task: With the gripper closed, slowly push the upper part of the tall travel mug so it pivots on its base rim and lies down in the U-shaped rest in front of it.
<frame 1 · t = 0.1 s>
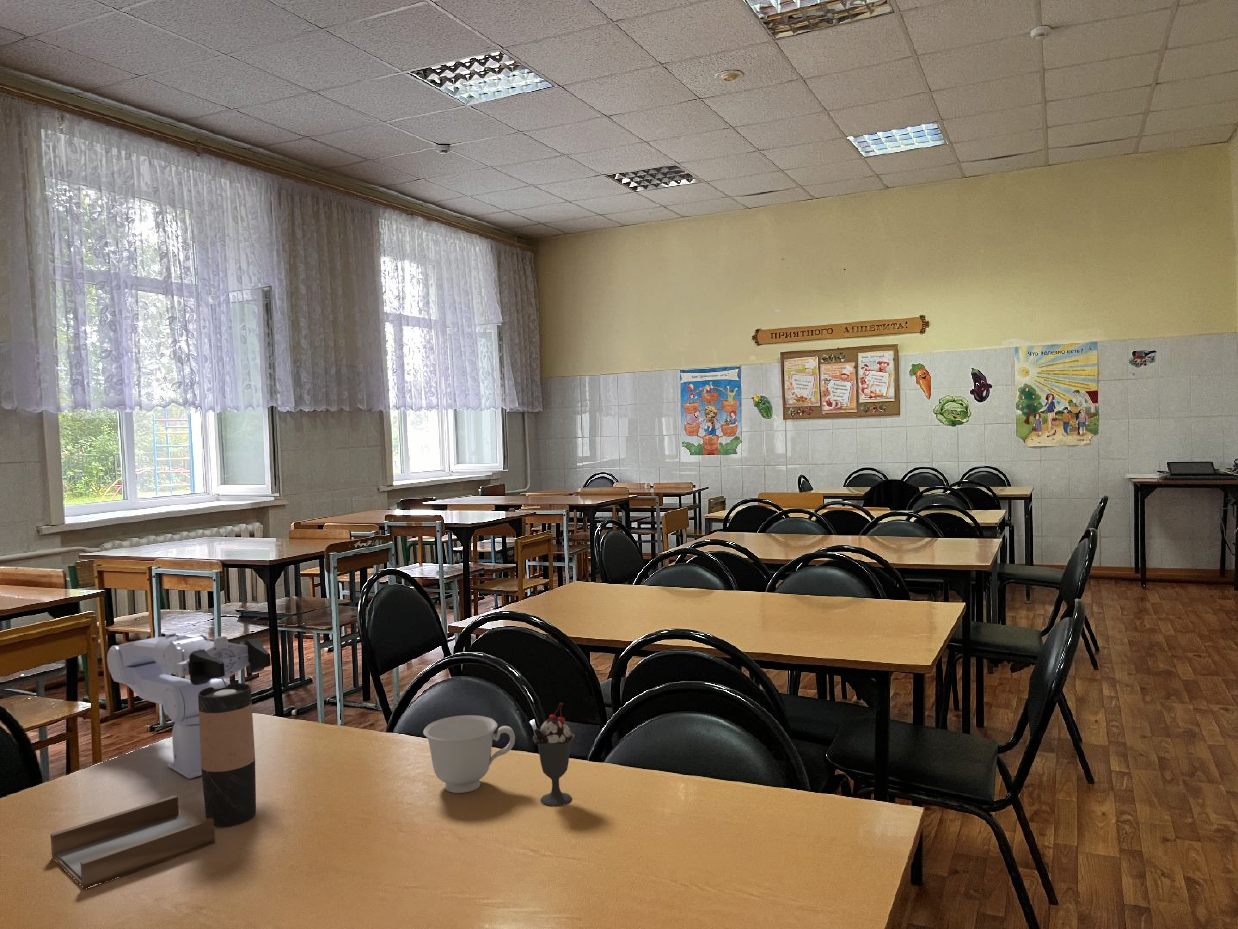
hand: (245, 664, 147), 22 cm above the table, tool horizontal, fingers open, 7 cm apart
teacup: (471, 787, 148), on the table
u rest: (134, 850, 129), on the table
travel mug: (231, 818, 139), on the table
sundae: (556, 801, 142), on the table
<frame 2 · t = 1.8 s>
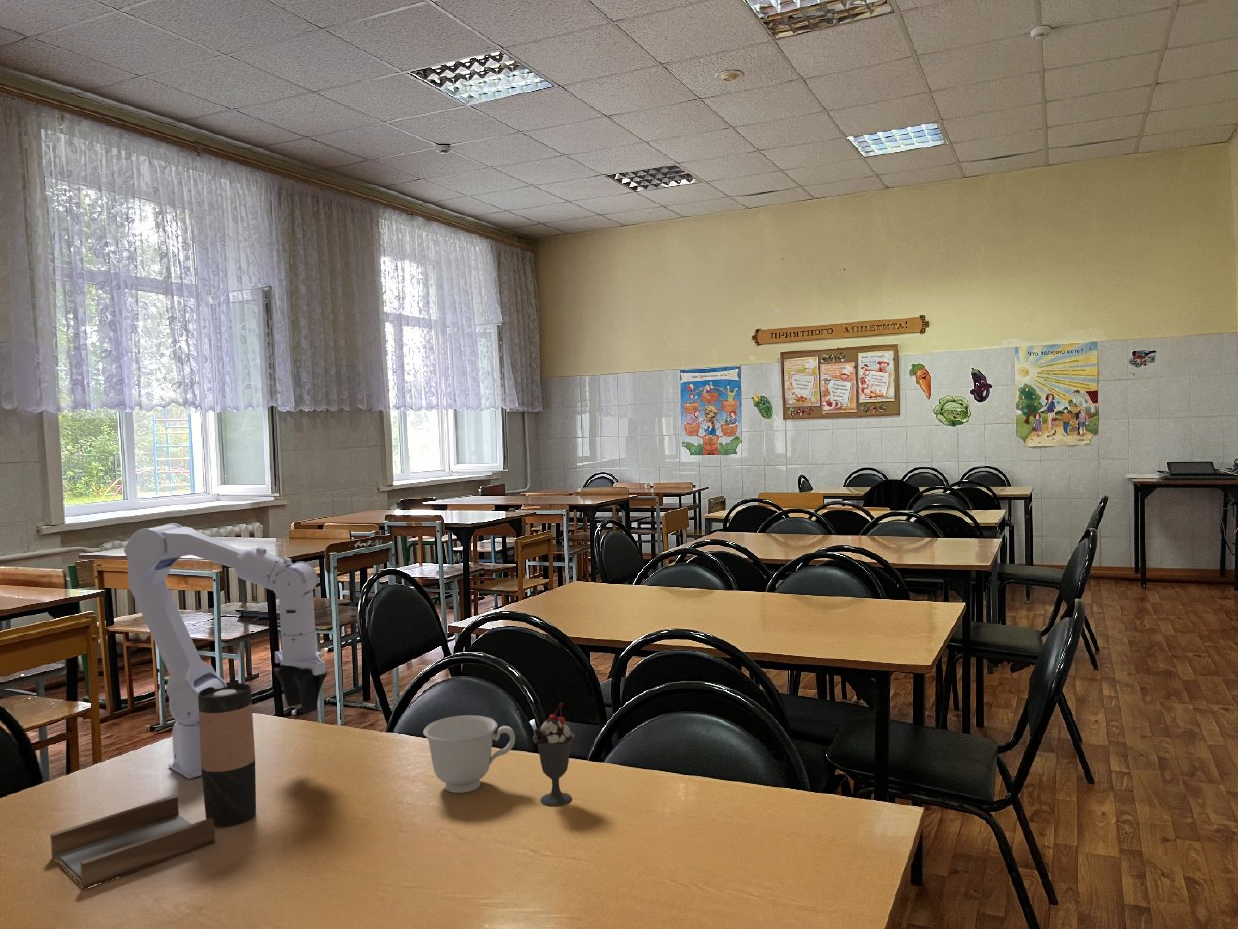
hand: (301, 708, 160), 10 cm above the table, tool pointing down, fingers open, 5 cm apart
nothing on the table moved.
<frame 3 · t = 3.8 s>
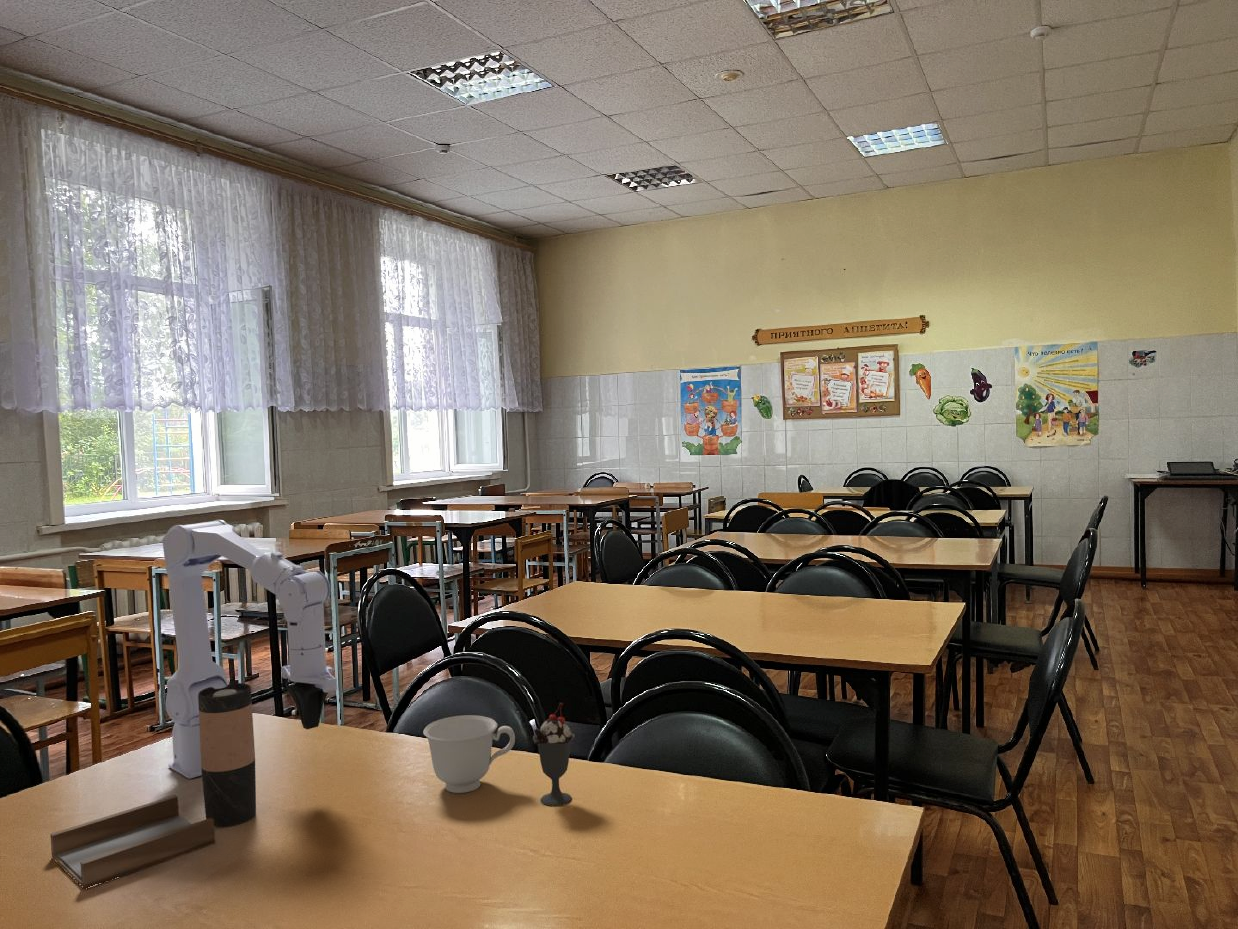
hand: (311, 727, 149), 10 cm above the table, tool pointing down, fingers closed
nothing on the table moved.
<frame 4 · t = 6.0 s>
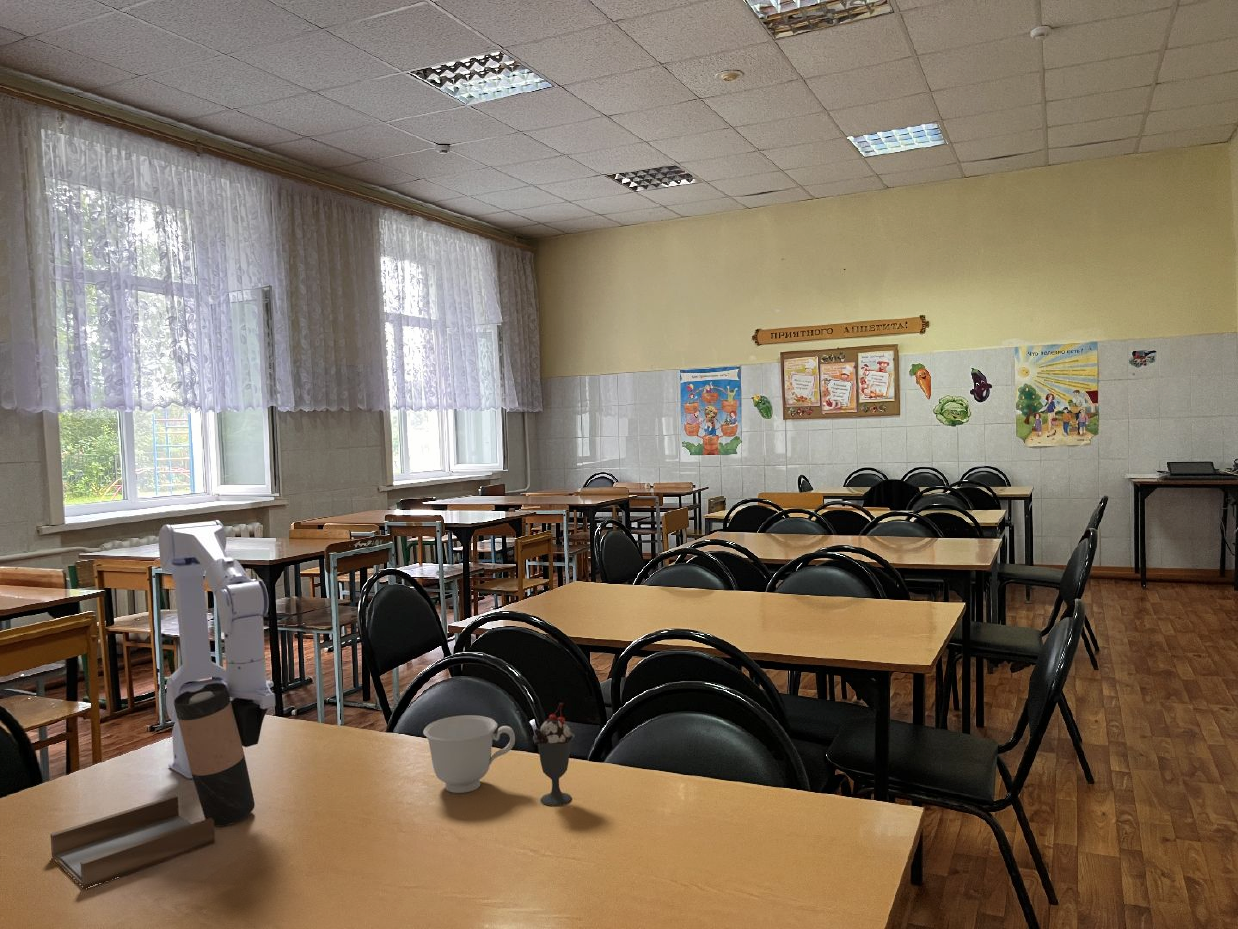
hand: (249, 744, 141), 10 cm above the table, tool pointing down, fingers closed, pressing on travel mug
travel mug: (231, 814, 139), on the table, touching gripper
everything else where it was.
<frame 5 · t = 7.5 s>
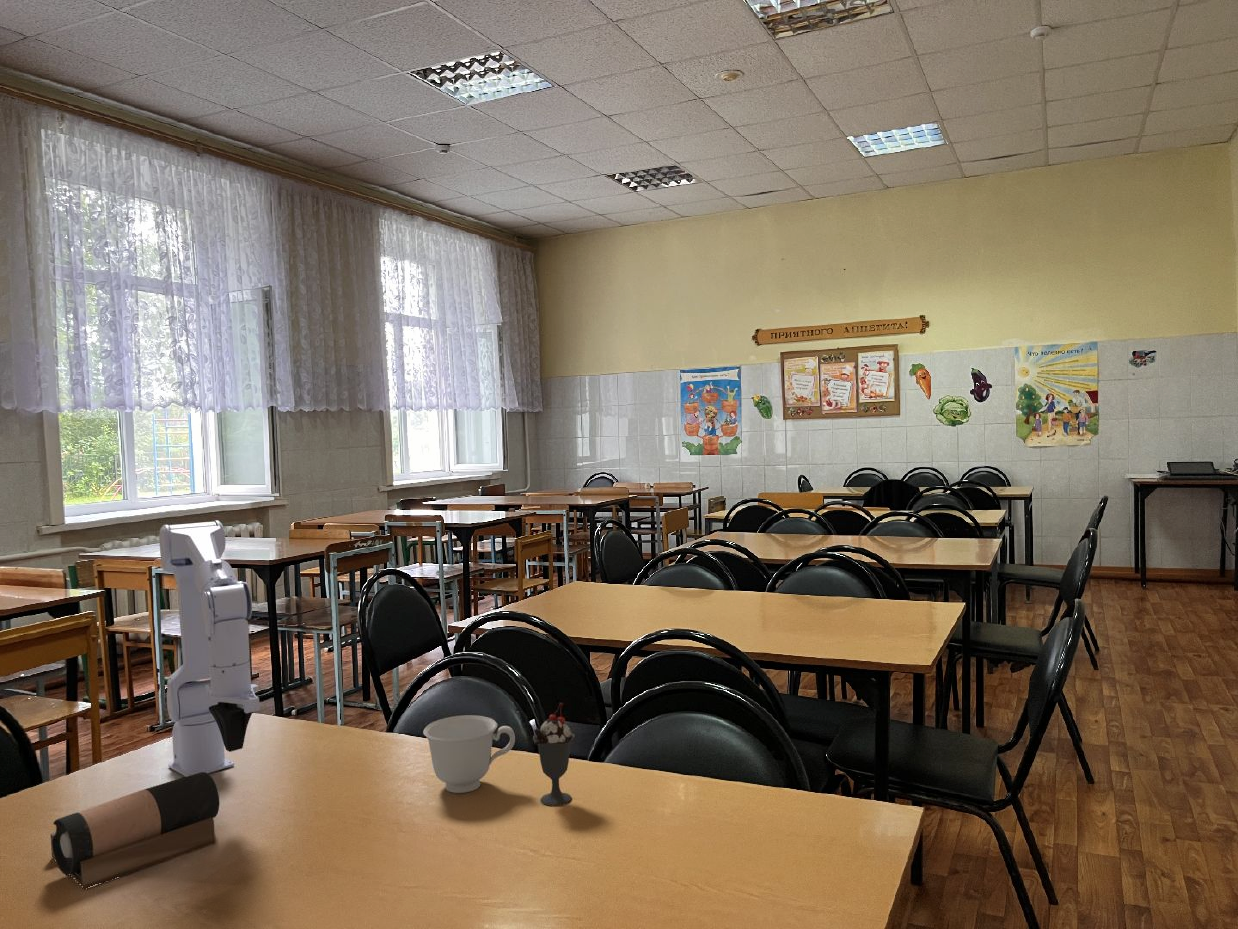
hand: (234, 749, 140), 10 cm above the table, tool pointing down, fingers closed
travel mug: (209, 794, 136), point 5 cm above the table, touching u rest
everything else where it was.
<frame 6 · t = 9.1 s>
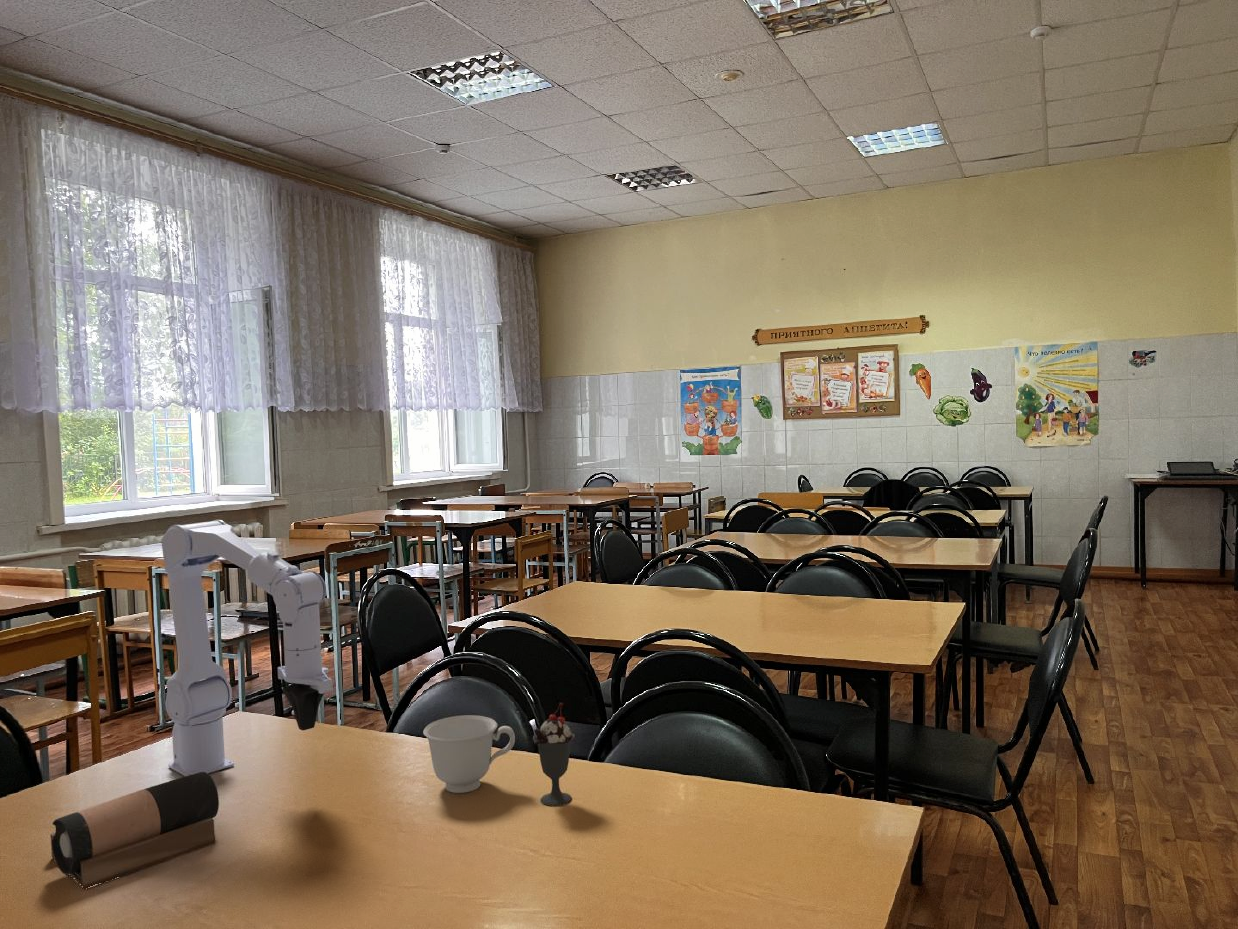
hand: (306, 728, 148), 10 cm above the table, tool pointing down, fingers closed
nothing on the table moved.
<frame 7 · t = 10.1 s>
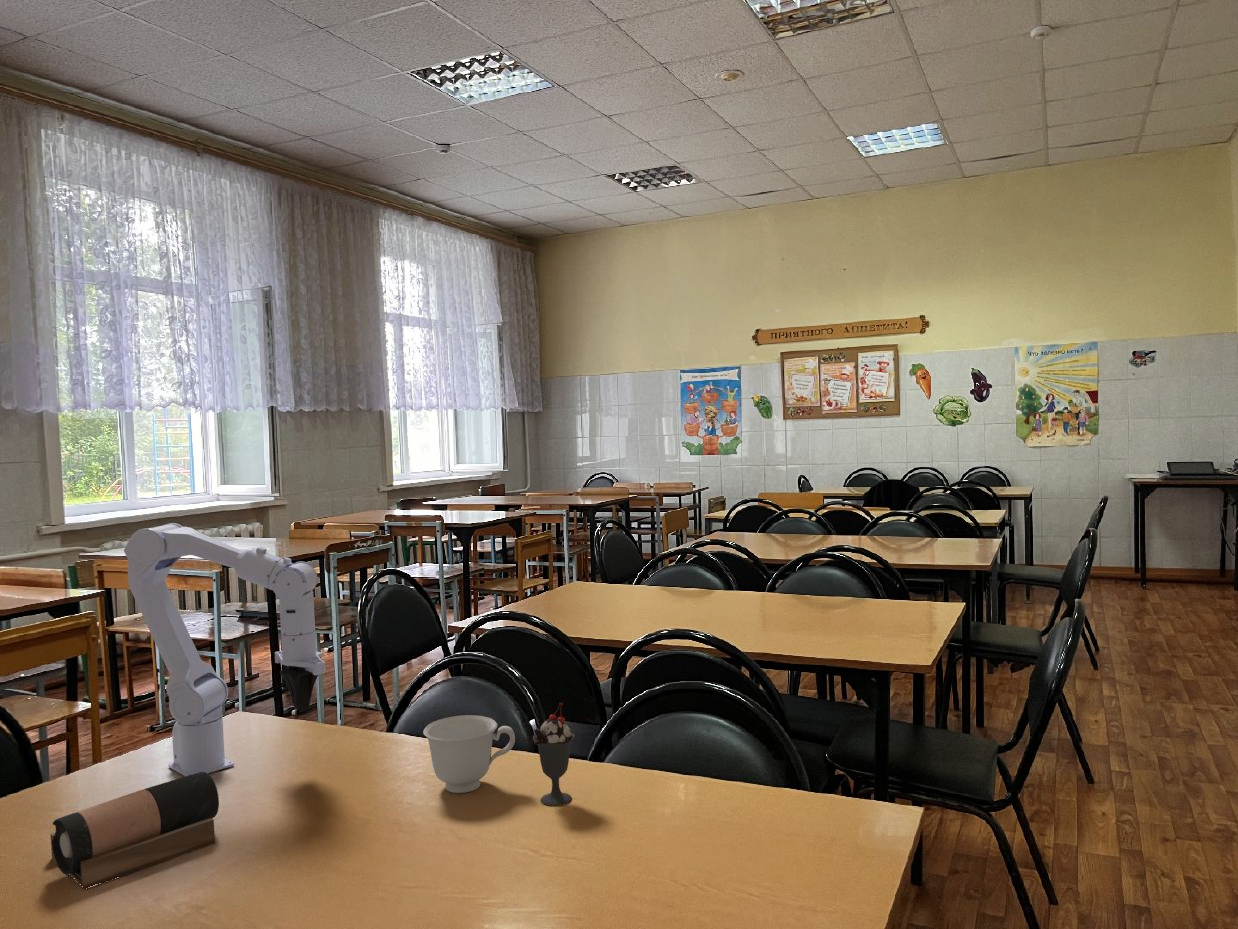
hand: (301, 708, 160), 10 cm above the table, tool pointing down, fingers closed
nothing on the table moved.
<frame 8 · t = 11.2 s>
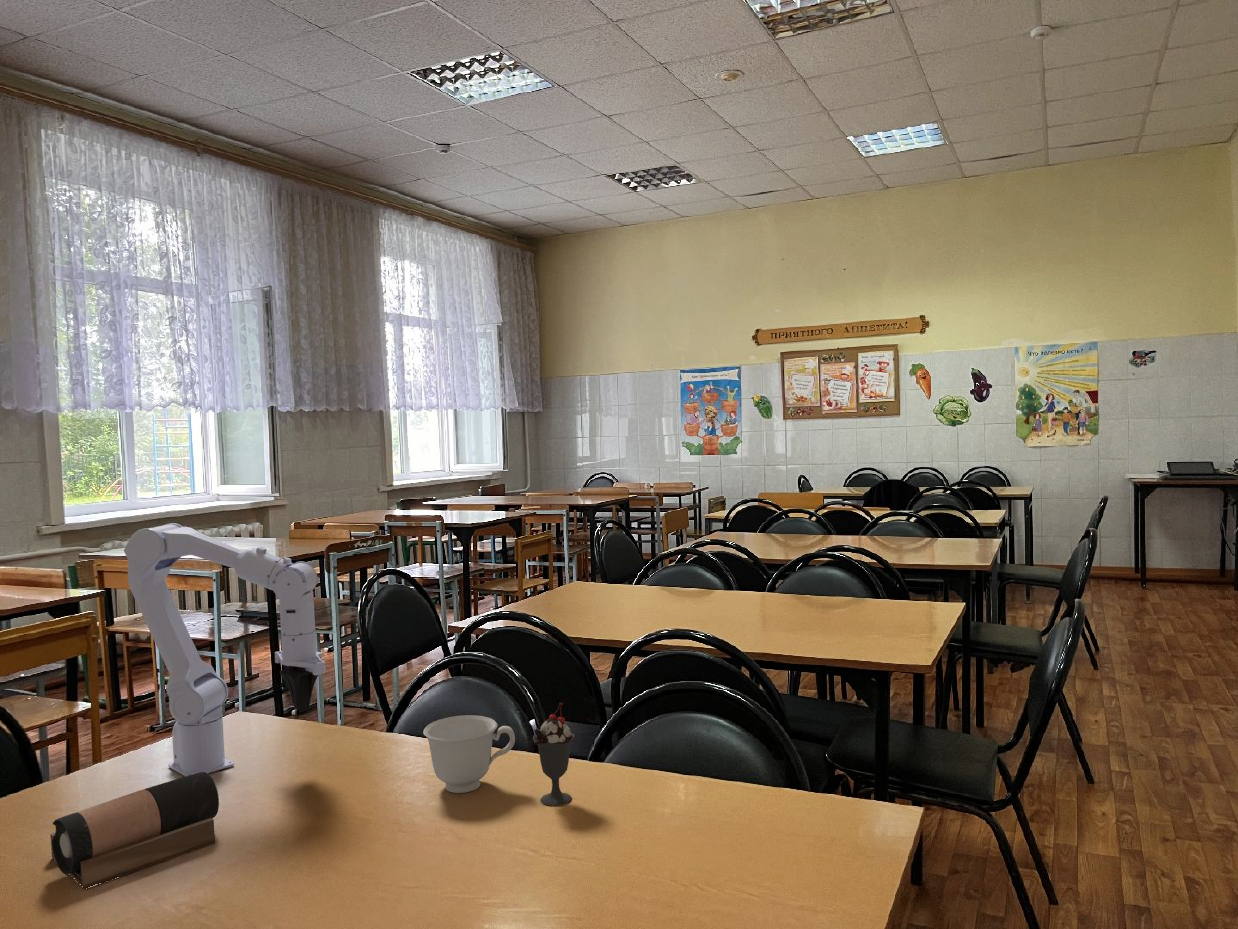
hand: (301, 708, 160), 10 cm above the table, tool pointing down, fingers closed
nothing on the table moved.
at the end: travel mug tilted 91°; travel mug touching u rest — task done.
